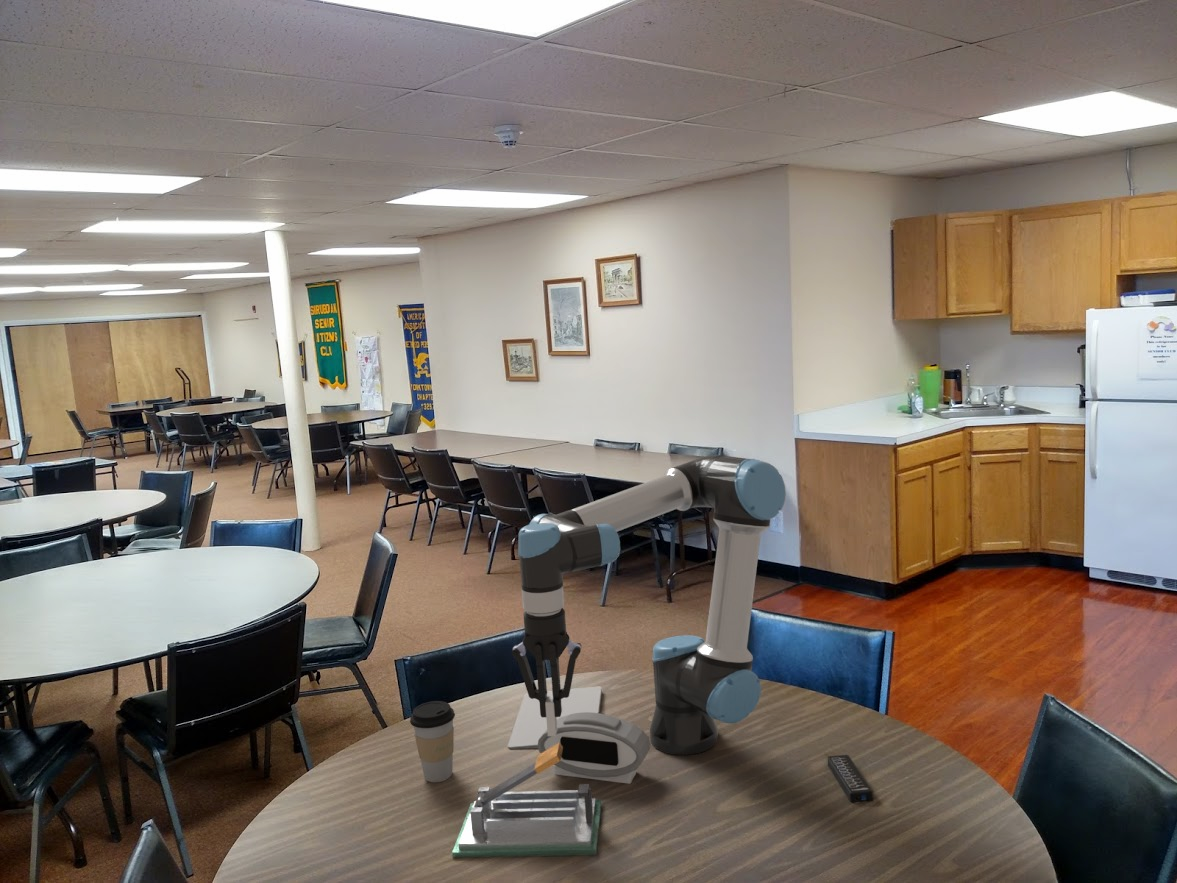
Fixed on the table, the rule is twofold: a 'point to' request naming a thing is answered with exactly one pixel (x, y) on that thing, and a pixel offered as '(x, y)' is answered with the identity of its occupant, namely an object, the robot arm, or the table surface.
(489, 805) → the heatsink
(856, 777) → the multiport hub
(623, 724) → the alarm clock
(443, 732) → the coffee cup
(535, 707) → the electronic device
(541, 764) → the orange tipped grey lever
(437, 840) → the table surface
